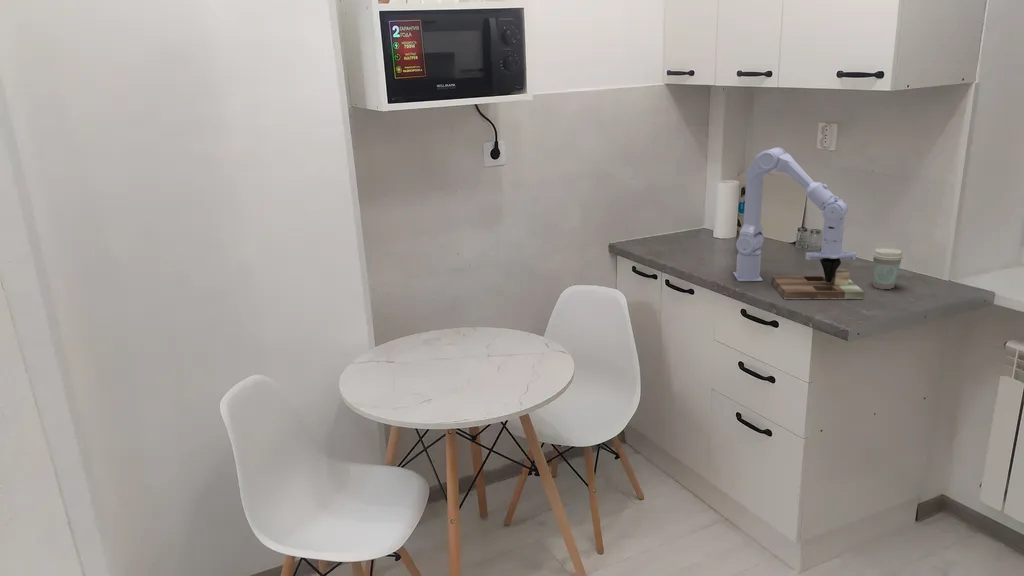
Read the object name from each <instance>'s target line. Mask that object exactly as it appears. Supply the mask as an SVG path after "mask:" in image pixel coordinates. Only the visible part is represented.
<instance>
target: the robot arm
mask: <svg viewBox="0 0 1024 576" xmlns="http://www.w3.org/2000/svg"><path fill="white" fill-rule="evenodd" d="M773 170H775V171H774V172H777V173H779V172H780V173H786V174H788V176H790V177H791V178H792V179H793V180H794V181H796V182H797V183H798V184H799V186H801V187H802V188H803V189H804V190H805V196H806V197H807V198H808V199H809V201H811V202H812V203H813V204H814V205H815V206H816V207H817V208H818V209H819V210H820V211H821V213H822V217H823V218H824V222H823V223H824V224H823V228H822V229H823V230H822V240H821V249H820V250H821V251H820V250H819V251H811V252H810V251H808V252H805V260H806V261H811V260H819V262H820V263H821V266H822V270H823V276H825V281H826V282H831V281H832V278H833V275H834V273H835V271H836V270H837V269H839V267H840V266H841V264H842V261H841V260H853V261H855V260H856V259H857V253H856V252H855V251H842V247H843V238H844V229H845V216H846V215H847V213H848V210H849V208H848V204H847V203H846V201H845V200H843V199H840V197H838V196H837V195H834V194H833V192H831V191H830V190H829V189H828V185H827V184H826V183H822V182H820V181H819V182H818V181H814V180H813V179H812V178H811V177H810V176H809V175H808V174H807V172H806V171H805V170H804V169H803V168H802V167H801V166H800V164H798V163H797V161H796V160H795V159H794V158H793V157H792V155H791V154H790V153H788V152H786V151H785V149H784V148H783V147H780V146H779V147H778V146H776V147H773V148H771V149H766V150H763V151H761V152H760V153H758V154H757V155H755V156H754V159H753V161H752V162H751V164H750V165H749V167H748V169H747V170H746V173H745V174H746V177H745V192H744V193H745V194H744V208H743V209H744V211H743V225H742V227H741V229H740V231H739V236H738V239H737V240H736V244H735V245H736V246H735V247H736V249H737V251H738V253H737V256H736V268H735V269H736V271H733V272H732V274H733V276H734V277H735V279H736V280H737V281H738V282H763V281H764V280H763V278H762V277H761V275H760V272H761V259H762V250H761V249H762V247H763V246H764V245H765V241H766V240H765V236H764V233H763V227H762V225H761V217H762V201H763V187H764V185H763V184H764V177H766V175H768V174H769V173H770V172H772V171H773Z"/></svg>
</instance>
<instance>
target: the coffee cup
mask: <svg viewBox="0 0 1024 576" xmlns="http://www.w3.org/2000/svg"><path fill="white" fill-rule="evenodd" d="M872 257H873V261H872V262H873V265H872V266H873V267H872V268H873V269H872V270H873V271H872V272H873V273H872V274H873V277H872V279H873V282H872V283H873V288H875V287H876V288H875V289H878V288H879V289H878V290H884V289H890V290H892V289H891V288H893V289H894V288H895V284H896V282H897V281H896V280H897V277H898V273H899V271H900V266H901V263H902V259H904V258H903V257H904V255H903V252H902V250H901V249H897V248H893V247H879V248H878V247H877V248H875V250H874V252H872Z"/></svg>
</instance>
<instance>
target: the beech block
mask: <svg viewBox="0 0 1024 576" xmlns="http://www.w3.org/2000/svg"><path fill="white" fill-rule="evenodd" d="M849 279H850V272H849V271H848V270H847V269H845V268H844V269H842V268H841V269H839V268H837V270H836V271H835V273H834V275H833V278H832V281H831V282H832V283H833V284H834V285H848V282H849Z"/></svg>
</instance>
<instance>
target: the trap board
mask: <svg viewBox="0 0 1024 576" xmlns="http://www.w3.org/2000/svg"><path fill="white" fill-rule="evenodd" d="M771 284H772V285H773V287H774V286H775V287H776V288H777V289H778V290H779V292H780V293H781V294H782V295H783V296H784V297H785V298H837V299H838V298H845V299H847V298H851V299H863V300H864V297H865V291H864V290H863V289H862V288H861V287H860V286H858V285H857V284H856V283H855V282H853V281H852V280H851V279H850V278H849V282H848V285H834V284H833V283H832V282H826V281H825V275H772V277H771ZM775 287H774V288H775ZM776 288H775V289H776ZM777 289H776V290H777ZM778 290H777V291H778ZM779 292H778V293H779ZM780 293H779V294H780ZM781 294H780V295H781ZM782 295H781V296H782Z"/></svg>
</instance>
